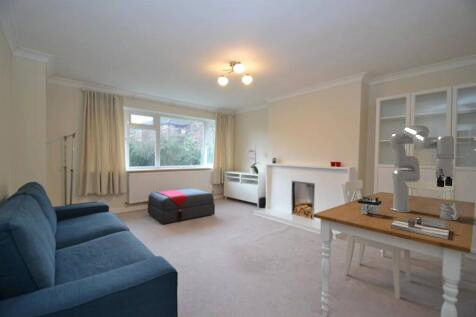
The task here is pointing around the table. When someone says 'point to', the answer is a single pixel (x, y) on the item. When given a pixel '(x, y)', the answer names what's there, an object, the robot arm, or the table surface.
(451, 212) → the mug
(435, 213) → the table surface
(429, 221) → the bar
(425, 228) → the door board
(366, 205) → the black-topped pedestal
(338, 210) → the table surface
